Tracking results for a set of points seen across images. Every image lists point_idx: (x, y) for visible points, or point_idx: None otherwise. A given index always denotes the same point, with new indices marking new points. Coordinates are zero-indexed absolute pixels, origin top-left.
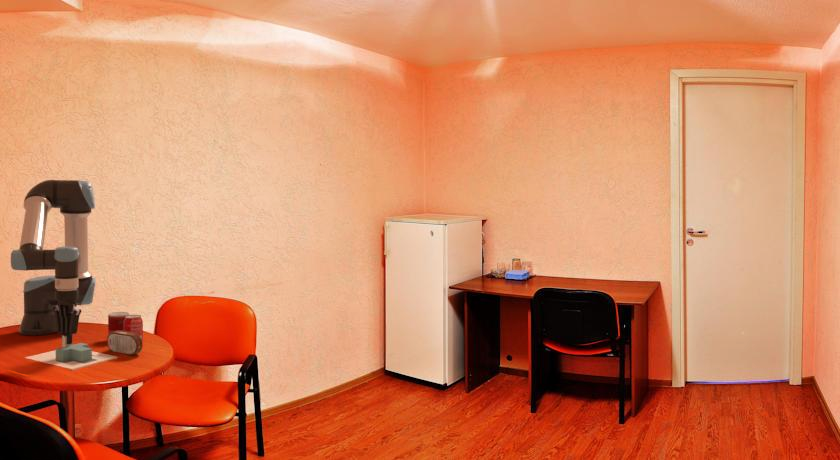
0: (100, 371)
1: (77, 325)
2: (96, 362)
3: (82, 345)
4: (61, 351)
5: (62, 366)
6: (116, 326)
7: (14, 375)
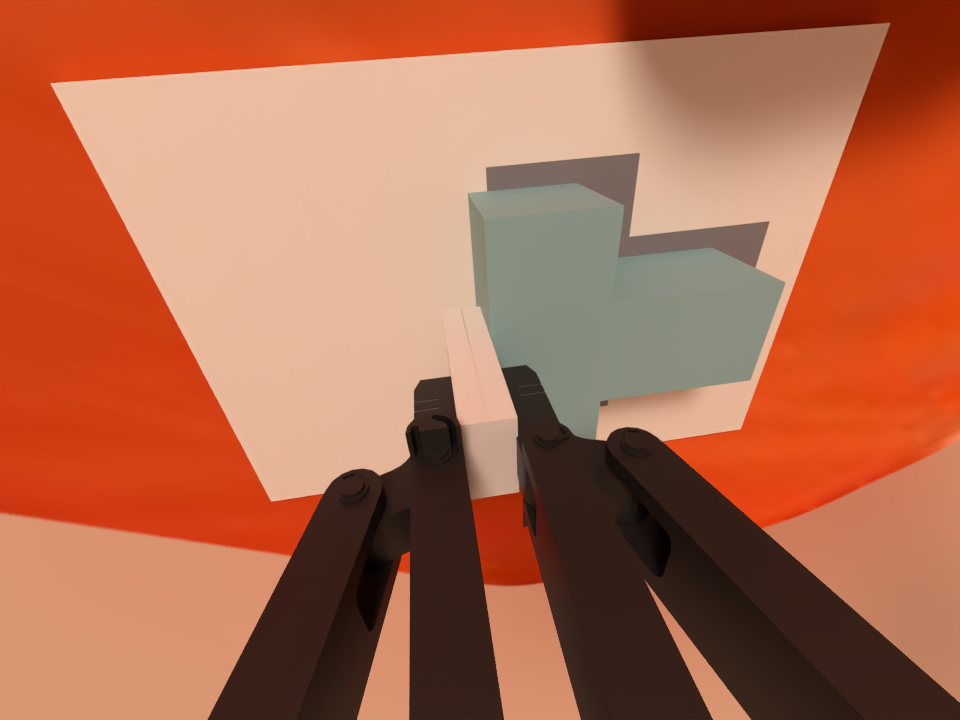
0: (906, 337)
1: (776, 550)
2: (798, 270)
3: (603, 276)
4: None
5: None
6: None
7: None
